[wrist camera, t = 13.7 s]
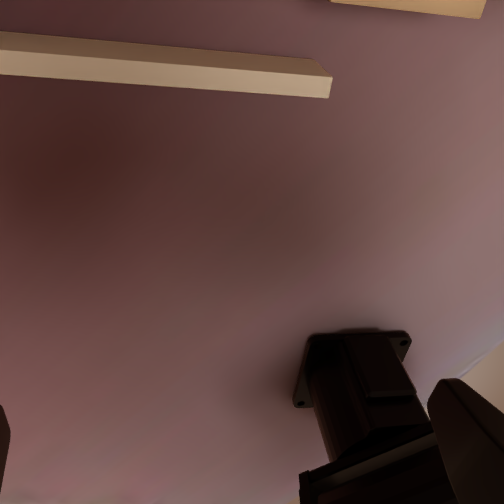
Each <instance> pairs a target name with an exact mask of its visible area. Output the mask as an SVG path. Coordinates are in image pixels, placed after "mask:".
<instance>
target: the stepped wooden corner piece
mask: <svg viewBox="0 0 504 504" xmlns="http://www.w3.org/2000/svg"><path fill="white" fill-rule="evenodd" d="M328 1H330V2H336V3H345V4H353V5H362V6H371V7H379V8H388V9H397V10H405V11H414V12H423V13H432V14H440V15H449V16H458V17H466V18H475V19H480V17H481V14H482V11H483V9H484V6H485V3H486V1H487V0H328Z"/></svg>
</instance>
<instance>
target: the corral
mask: <svg viewBox="0 0 504 504" xmlns="http://www.w3.org/2000/svg"><path fill="white" fill-rule="evenodd" d="M0 74H4V75H18V76H32V77H45V78H59V79H72V80H86V81H100V82H113V83H127V84H140V85H154V86H168V87H181V88H195V89H209V90H222V91H236V92H249V93H263V94H277V95H290V96H304V97H317V98H329V93H330V88H331V84H332V79H333V77H332V76H331V75H330V74H329V73H328V72H327V71H326V70H324V69H323V68H322V67H321V66H320V65H319V64H318V63H317V62H316V61H315V60H314V59H305V58H294V57H283V56H272V55H261V54H250V53H239V52H228V51H217V50H205V49H194V48H183V47H172V46H161V45H150V44H139V43H128V42H117V41H106V40H95V39H84V38H73V37H61V36H50V35H39V34H28V33H17V32H6V31H0Z"/></svg>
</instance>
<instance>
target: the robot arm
mask: <svg viewBox="0 0 504 504" xmlns="http://www.w3.org/2000/svg"><path fill="white" fill-rule="evenodd" d="M411 342H412V340H411V338H410V336H409V334H408V333H404V332H402V333H370V334H339V335H316V336H313V337H311V338H310V339H309V340H308V343H307V347H306V350H305V354H304V358H303V361H302V365H301V369H300V372H299V376H298V380H297V384H296V387H295V391H294V395H293V398H292V401H293V405H294V407H296V408H310V407H313V408H314V411H315V414H316V418H317V421H318V424H319V428H320V431H321V434H322V438H323V441H324V444H325V448H326V451H327V454H328V458H329V461H330V463H328V464H326V465H323V466H321V467H319V468H316V469H314V470H312V471H309V470H307V471H305V472H302V473H300V474H299V483H300V489H299V496H300V504H504V414H503V413H502V412H501V411H500V410H498V409H497V408H496V407H495V406H493V405H492V404H491V403H489V402H488V401H487V400H486V399H484V398H483V397H482V396H481V395H480V394H478V393H477V392H476V391H475V390H473V389H472V388H471V387H470V386H468V385H467V384H466V383H465V382H463V381H462V380H460V379H457V378H449V379H441V380H440V381H439V382H438V383H437V385H436V387H435V388H434V390H433V392H432V394H431V396H430V397H429V399H428V402H427V409H428V414H429V417H430V419H429V417H428V416H427V414H426V412H425V410H424V408H423V406H422V404H421V402H420V400H419V398H418V396H417V395H416V393H417V391H416V388H415V387H414V385H413V383H412V381H411V379H410V377H409V375H408V373H407V371H406V370H405V368H404V366H403V364H402V362H403V360H404V358H405V355H406V353H407V351H408V349H409V347H410V345H411ZM317 343H318V344H317ZM9 443H10V427H9V424H8V421H7V418H6V415H5V412H4V409H3V407H2V406H1V405H0V492H1V486H2V481H3V476H4V470H5V465H6V460H7V454H8V449H9Z"/></svg>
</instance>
